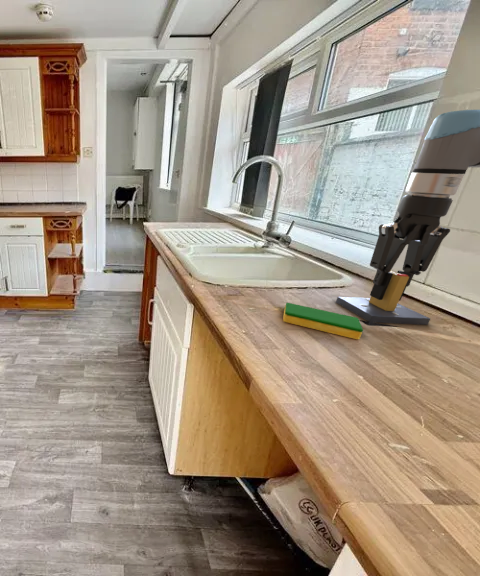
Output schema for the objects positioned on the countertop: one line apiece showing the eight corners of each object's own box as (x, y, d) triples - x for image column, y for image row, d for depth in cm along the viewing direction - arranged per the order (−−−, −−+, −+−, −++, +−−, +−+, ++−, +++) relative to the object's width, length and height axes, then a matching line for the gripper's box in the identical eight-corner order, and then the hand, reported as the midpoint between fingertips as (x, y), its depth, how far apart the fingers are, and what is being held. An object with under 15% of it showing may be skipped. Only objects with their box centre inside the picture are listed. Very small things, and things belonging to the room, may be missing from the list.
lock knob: (368, 302, 76) (382, 268, 73) (376, 302, 76) (390, 269, 73) (385, 310, 71) (401, 275, 68) (394, 311, 71) (410, 275, 68)
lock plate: (384, 307, 79) (388, 298, 78) (426, 328, 69) (431, 317, 68) (334, 305, 80) (337, 295, 79) (368, 325, 69) (372, 315, 68)
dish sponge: (283, 310, 75) (286, 301, 74) (354, 327, 68) (358, 317, 68) (282, 321, 69) (285, 312, 68) (359, 340, 63) (363, 330, 62)
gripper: (404, 195, 61) (361, 302, 69) (488, 199, 60) (435, 306, 69) (373, 192, 68) (338, 290, 76) (449, 195, 67) (405, 293, 76)
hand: (384, 297), depth 73 cm, fingers open, 3 cm apart
